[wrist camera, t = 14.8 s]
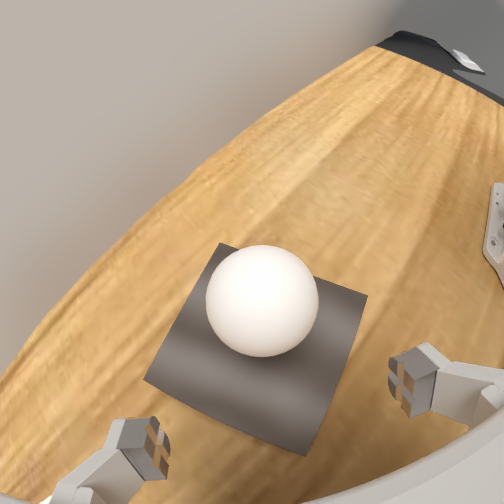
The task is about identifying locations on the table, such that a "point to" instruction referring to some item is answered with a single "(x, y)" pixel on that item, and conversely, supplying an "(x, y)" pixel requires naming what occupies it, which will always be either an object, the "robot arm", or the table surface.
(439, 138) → the table surface
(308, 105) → the table surface
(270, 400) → the charcoal block
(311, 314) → the lightbulb
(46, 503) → the white plastic blade
